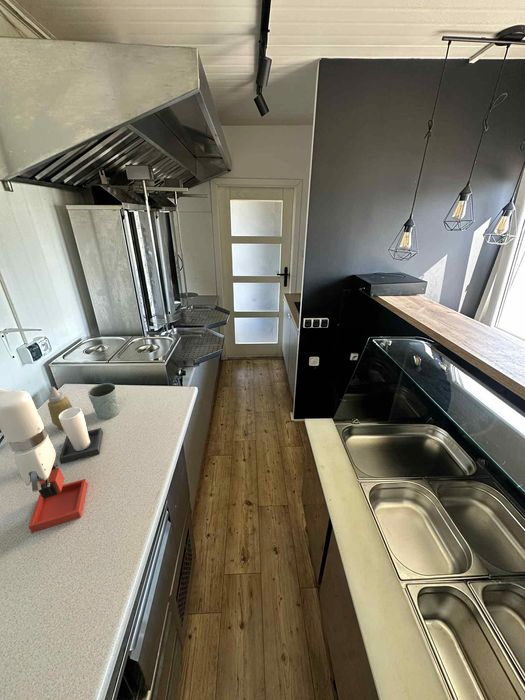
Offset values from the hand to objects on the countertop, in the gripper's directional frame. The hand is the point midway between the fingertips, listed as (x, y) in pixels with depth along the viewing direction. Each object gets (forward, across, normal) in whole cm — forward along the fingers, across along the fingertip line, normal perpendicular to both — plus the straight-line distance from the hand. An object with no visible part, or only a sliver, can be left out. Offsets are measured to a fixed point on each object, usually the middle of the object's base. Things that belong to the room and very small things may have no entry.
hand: (52, 487), depth 79 cm
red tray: (+8, 0, 0) cm, 8 cm away
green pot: (+8, -42, +9) cm, 44 cm away
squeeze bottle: (+8, -40, -6) cm, 41 cm away
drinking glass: (+8, -24, +2) cm, 25 cm away
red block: (0, 0, 0) cm, 0 cm away
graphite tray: (+8, -24, +2) cm, 26 cm away
